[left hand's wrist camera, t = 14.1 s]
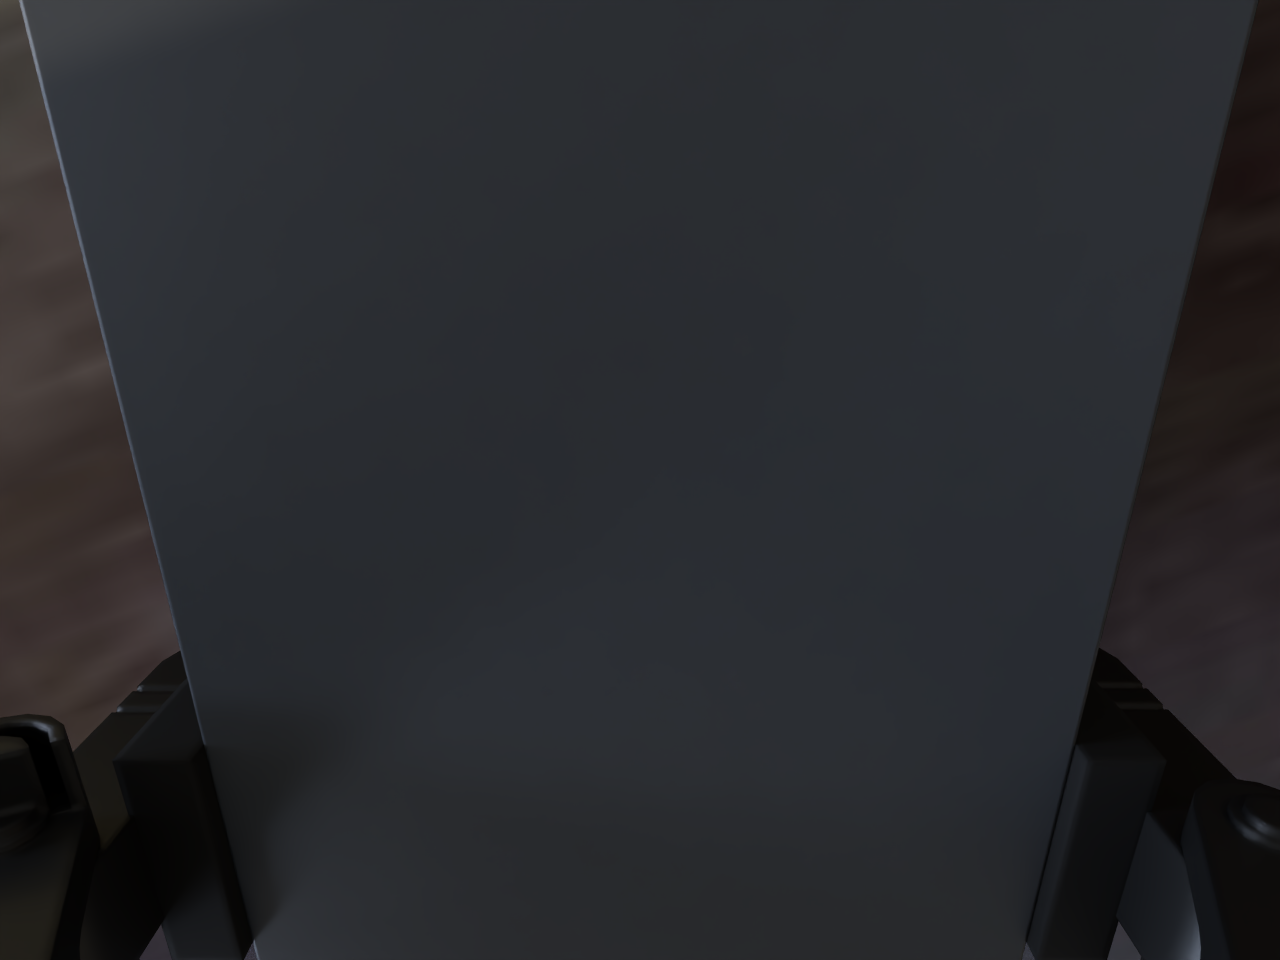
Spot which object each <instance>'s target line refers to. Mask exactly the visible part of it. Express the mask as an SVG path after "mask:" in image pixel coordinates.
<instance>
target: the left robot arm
mask: <svg viewBox="0 0 1280 960" xmlns="http://www.w3.org/2000/svg"><path fill="white" fill-rule="evenodd" d="M1118 921H1119V922H1120V924H1121V925H1122V927H1123V928H1124V930H1125V931H1126V933H1127V935H1128V936H1129V938H1130V939H1131V941H1132V942H1133V944H1134V946H1135V947H1136V949H1137V950H1138V952H1139V953H1140V955H1141V959H1140V960H1280V790H1278V789H1275V788H1272V787H1270V786H1267V785H1264V784H1261V783H1258V782H1251V781H1245V780H1238V779H1236V778H1235V777H1234V776H1233V775H1232V774H1231V773H1230V772H1229V771H1228V770H1227V769H1226V768H1225V767H1224V766H1223V765H1222V764H1221V763H1220V762H1219V761H1218V760H1217V759H1216V758H1215V757H1214V756H1213V755H1212V754H1211V753H1210V752H1209V751H1208V750H1207V749H1206V748H1205V747H1204V746H1203V745H1202V744H1201V743H1200V741H1199V740H1198V739H1197V738H1196V737H1195V736H1194V735H1193V734H1192V733H1191V732H1190V731H1189V730H1188V729H1187V728H1186V727H1185V726H1184V725H1183V724H1182V723H1181V722H1180V721H1179V720H1178V719H1177V718H1176V717H1175V716H1174V715H1173V714H1172V713H1171V712H1170V711H1169V710H1164V709H1163V704H1162V703H1161V702H1160V701H1159V700H1158V699H1157V698H1156V697H1155V696H1154V695H1153V694H1152V693H1151V692H1150V691H1149V690H1148V689H1147V688H1143V687H1142V683H1141V682H1140V681H1139V680H1138V679H1137V678H1136V677H1135V676H1134V675H1133V674H1132V673H1131V672H1130V671H1129V670H1128V669H1127V668H1126V667H1125V666H1124V665H1123V664H1122V663H1121V662H1120V661H1119V660H1118V659H1117V658H1116V657H1114V656H1112V655H1110V654H1109V653H1107V652H1105V651H1104V650H1102V649H1100V648H1099V649H1098V653H1097V657H1096V661H1095V665H1094V669H1093V673H1092V677H1091V681H1090V685H1089V689H1088V693H1087V697H1086V702H1085V706H1084V710H1083V714H1082V718H1081V722H1080V726H1079V730H1078V734H1077V738H1076V742H1075V746H1074V750H1073V754H1072V758H1071V762H1070V766H1069V770H1068V774H1067V779H1066V783H1065V787H1064V791H1063V795H1062V799H1061V803H1060V807H1059V811H1058V815H1057V819H1056V823H1055V827H1054V831H1053V835H1052V839H1051V843H1050V847H1049V851H1048V855H1047V860H1046V864H1045V868H1044V872H1043V876H1042V880H1041V884H1040V888H1039V892H1038V896H1037V900H1036V904H1035V908H1034V912H1033V916H1032V920H1031V924H1030V928H1029V932H1028V937H1027V941H1026V942H1027V944H1028V946H1029V948H1030V950H1031V952H1032V954H1033V956H1034V958H1035V960H1107V958H1108V954H1109V951H1110V948H1111V944H1112V941H1113V938H1114V934H1115V931H1116V928H1117V925H1118ZM160 925H162V928H163V931H164V935H165V938H166V941H167V945H168V948H169V951H170V954H171V958H172V960H244V958H245V956H246V954H247V952H248V950H249V948H250V946H251V944H252V942H253V940H252V936H251V932H250V928H249V924H248V920H247V916H246V912H245V908H244V904H243V900H242V896H241V892H240V888H239V884H238V880H237V876H236V872H235V868H234V864H233V860H232V856H231V852H230V848H229V844H228V840H227V836H226V831H225V827H224V823H223V819H222V815H221V811H220V807H219V803H218V799H217V795H216V791H215V787H214V783H213V779H212V775H211V771H210V767H209V763H208V759H207V755H206V751H205V747H204V743H203V739H202V735H201V731H200V727H199V723H198V719H197V715H196V711H195V707H194V703H193V699H192V695H191V691H190V687H189V683H188V679H187V675H186V671H185V667H184V663H183V659H182V655H181V651H179V652H177V653H176V654H174V655H172V656H171V657H169V658H167V659H165V660H164V661H162V662H161V663H160V664H159V665H158V666H157V667H156V668H155V669H154V670H153V671H152V672H151V673H150V674H149V675H148V676H147V677H146V678H145V679H144V680H143V681H142V682H141V683H140V684H139V686H138V689H137V691H133V692H132V693H131V694H130V695H129V696H128V697H127V698H126V699H125V700H124V701H123V702H122V703H121V704H120V705H119V706H118V707H117V712H116V713H111V714H110V715H109V716H108V717H107V718H106V719H105V720H104V721H103V722H102V723H101V724H100V725H99V726H98V727H97V728H96V729H95V730H94V731H93V732H92V733H91V734H90V735H89V736H88V737H87V738H86V739H85V740H84V741H83V742H82V744H81V745H80V746H79V747H78V748H77V749H76V750H75V751H74V752H72V749H71V746H70V743H69V739H68V736H67V733H66V730H65V727H64V725H63V724H62V723H60V722H59V721H57V720H56V719H54V718H52V717H51V716H42V715H33V714H24V715H17V716H10V717H3V718H0V960H140V959H139V958H140V956H141V955H142V953H143V952H144V950H145V948H146V947H147V945H148V944H149V942H150V941H151V939H152V937H153V936H154V934H155V933H156V931H157V930H158V928H159V927H160Z"/></svg>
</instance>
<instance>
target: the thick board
mask: <svg viewBox="0 0 1280 960" xmlns="http://www.w3.org/2000/svg"><path fill="white" fill-rule="evenodd" d="M1258 1H1259V0H19V2H20V6H21V10H22V14H23V18H24V22H25V26H26V30H27V34H28V38H29V42H30V47H31V51H32V55H33V59H34V63H35V67H36V71H37V75H38V79H39V83H40V87H41V91H42V95H43V99H44V103H45V107H46V111H47V115H48V119H49V123H50V127H51V131H52V135H53V139H54V143H55V147H56V151H57V155H58V159H59V163H60V167H61V171H62V175H63V179H64V183H65V187H66V191H67V196H68V200H69V204H70V208H71V212H72V216H73V220H74V224H75V228H76V232H77V236H78V240H79V244H80V248H81V252H82V256H83V260H84V264H85V268H86V272H87V276H88V280H89V284H90V288H91V292H92V296H93V300H94V304H95V308H96V312H97V316H98V320H99V324H100V328H101V332H102V336H103V340H104V345H105V349H106V353H107V357H108V361H109V365H110V369H111V373H112V377H113V381H114V385H115V389H116V393H117V397H118V401H119V405H120V409H121V413H122V417H123V421H124V425H125V429H126V433H127V437H128V441H129V445H130V449H131V453H132V457H133V461H134V465H135V469H136V473H137V477H138V481H139V485H140V489H141V494H142V498H143V502H144V506H145V510H146V514H147V518H148V522H149V526H150V530H151V534H152V538H153V542H154V546H155V550H156V554H157V558H158V562H159V566H160V570H161V574H162V578H163V582H164V586H165V590H166V594H167V598H168V602H169V606H170V610H171V614H172V618H173V622H174V626H175V630H176V634H177V638H178V643H179V647H180V651H181V655H182V659H183V663H184V667H185V671H186V675H187V679H188V683H189V687H190V691H191V695H192V699H193V703H194V707H195V711H196V715H197V719H198V723H199V727H200V731H201V735H202V739H203V743H204V747H205V751H206V755H207V759H208V763H209V767H210V771H211V775H212V779H213V783H214V787H215V791H216V795H217V799H218V803H219V807H220V811H221V815H222V819H223V823H224V827H225V831H226V836H227V840H228V844H229V848H230V852H231V856H232V860H233V864H234V868H235V872H236V876H237V880H238V884H239V888H240V892H241V896H242V900H243V904H244V908H245V912H246V916H247V920H248V924H249V928H250V932H251V936H252V940H253V945H254V949H255V953H256V957H257V960H1022V957H1023V953H1024V949H1025V945H1026V941H1027V937H1028V932H1029V928H1030V924H1031V920H1032V916H1033V912H1034V908H1035V904H1036V900H1037V896H1038V892H1039V888H1040V884H1041V880H1042V876H1043V872H1044V868H1045V864H1046V860H1047V855H1048V851H1049V847H1050V843H1051V839H1052V835H1053V831H1054V827H1055V823H1056V819H1057V815H1058V811H1059V807H1060V803H1061V799H1062V795H1063V791H1064V787H1065V783H1066V779H1067V774H1068V770H1069V766H1070V762H1071V758H1072V754H1073V750H1074V746H1075V742H1076V738H1077V734H1078V730H1079V726H1080V722H1081V718H1082V714H1083V710H1084V706H1085V702H1086V697H1087V693H1088V689H1089V685H1090V681H1091V677H1092V673H1093V669H1094V665H1095V661H1096V657H1097V653H1098V649H1099V645H1100V641H1101V637H1102V633H1103V629H1104V625H1105V621H1106V616H1107V612H1108V608H1109V604H1110V600H1111V596H1112V592H1113V588H1114V584H1115V580H1116V576H1117V572H1118V568H1119V564H1120V560H1121V556H1122V552H1123V548H1124V544H1125V540H1126V535H1127V531H1128V527H1129V523H1130V519H1131V515H1132V511H1133V507H1134V503H1135V499H1136V495H1137V491H1138V487H1139V483H1140V479H1141V475H1142V471H1143V467H1144V463H1145V458H1146V454H1147V450H1148V446H1149V442H1150V438H1151V434H1152V430H1153V426H1154V422H1155V418H1156V414H1157V410H1158V406H1159V402H1160V398H1161V394H1162V390H1163V386H1164V382H1165V377H1166V373H1167V369H1168V365H1169V361H1170V357H1171V353H1172V349H1173V345H1174V341H1175V337H1176V333H1177V329H1178V325H1179V321H1180V317H1181V313H1182V309H1183V305H1184V301H1185V296H1186V292H1187V288H1188V284H1189V280H1190V276H1191V272H1192V268H1193V264H1194V260H1195V256H1196V252H1197V248H1198V244H1199V240H1200V236H1201V232H1202V228H1203V224H1204V219H1205V215H1206V211H1207V207H1208V203H1209V199H1210V195H1211V191H1212V187H1213V183H1214V179H1215V175H1216V171H1217V167H1218V163H1219V159H1220V155H1221V151H1222V147H1223V143H1224V138H1225V134H1226V130H1227V126H1228V122H1229V118H1230V114H1231V110H1232V106H1233V102H1234V98H1235V94H1236V90H1237V86H1238V82H1239V78H1240V74H1241V70H1242V66H1243V62H1244V57H1245V53H1246V49H1247V45H1248V41H1249V37H1250V33H1251V29H1252V25H1253V21H1254V17H1255V13H1256V9H1257V5H1258Z"/></svg>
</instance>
